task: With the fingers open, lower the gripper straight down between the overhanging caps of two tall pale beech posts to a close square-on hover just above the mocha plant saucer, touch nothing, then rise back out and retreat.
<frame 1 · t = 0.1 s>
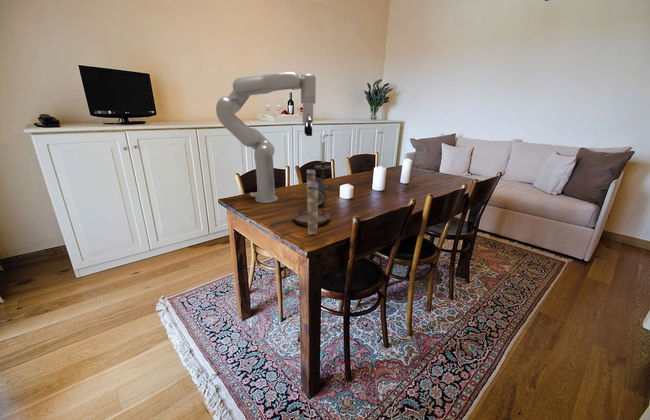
hand: (308, 134, 150), 37 cm above the table, tool pointing down, fingers open, 9 cm apart
plant saucer: (311, 221, 134), on the table
post back: (310, 209, 147), on the table
post front: (312, 232, 121), on the table
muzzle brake: (316, 200, 164), on the table
candlestick: (322, 188, 187), on the table
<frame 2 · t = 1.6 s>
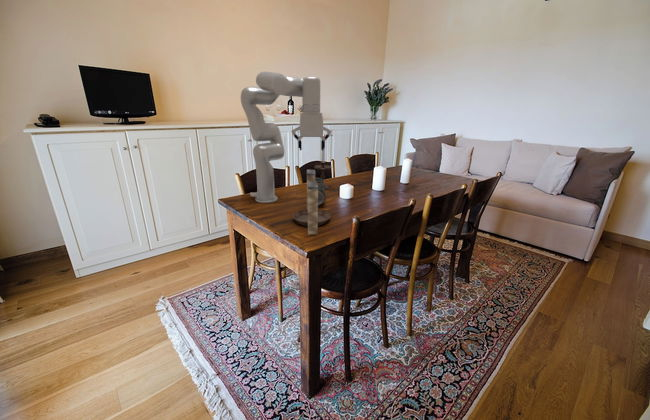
hand: (311, 150, 125), 33 cm above the table, tool pointing down, fingers open, 9 cm apart
nothing on the table moved.
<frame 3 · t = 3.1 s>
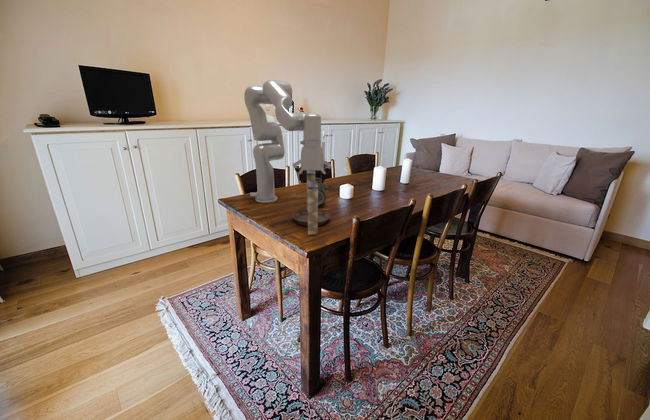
hand: (312, 182, 128), 19 cm above the table, tool pointing down, fingers open, 9 cm apart
nothing on the table moved.
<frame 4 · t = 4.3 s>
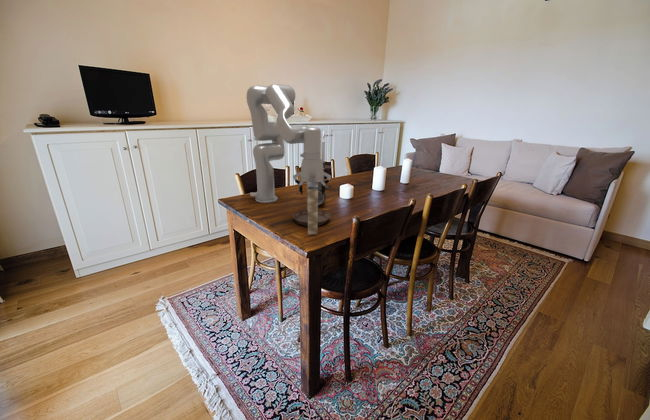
hand: (312, 193, 129), 13 cm above the table, tool pointing down, fingers open, 9 cm apart
nothing on the table moved.
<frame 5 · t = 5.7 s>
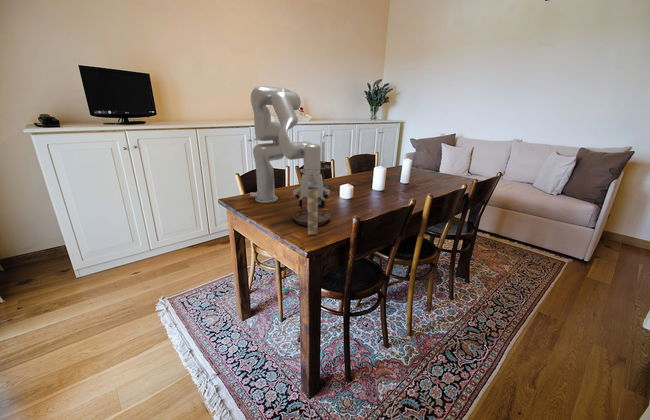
hand: (311, 207, 132), 6 cm above the table, tool pointing down, fingers open, 9 cm apart
nothing on the table moved.
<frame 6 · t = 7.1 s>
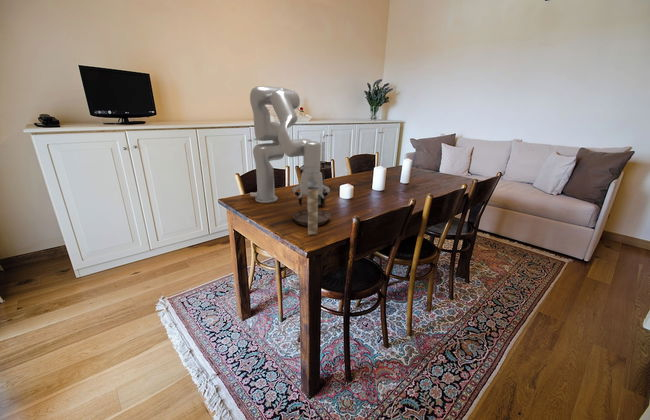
hand: (311, 205, 132), 7 cm above the table, tool pointing down, fingers open, 9 cm apart
nothing on the table moved.
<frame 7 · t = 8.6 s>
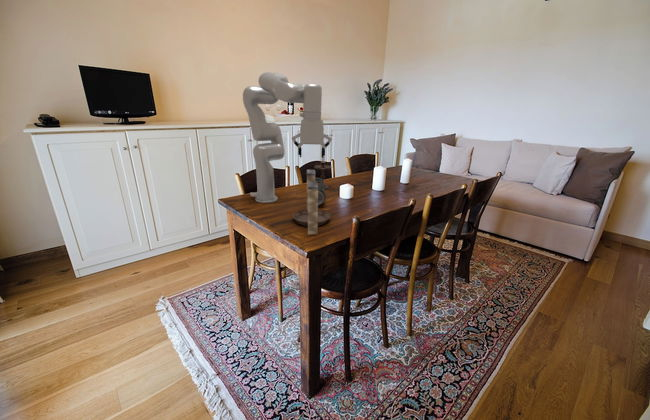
hand: (311, 157, 124), 30 cm above the table, tool pointing down, fingers open, 9 cm apart
nothing on the table moved.
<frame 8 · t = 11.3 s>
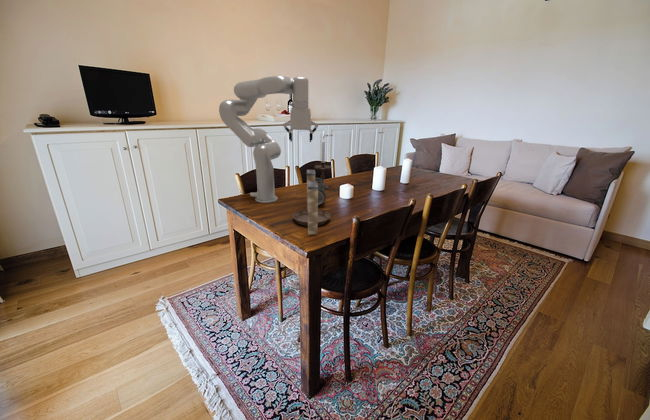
hand: (300, 141, 141), 34 cm above the table, tool pointing down, fingers open, 9 cm apart
nothing on the table moved.
at the end: plant saucer moved 0.5 cm from its start; post front tilted 0°; post back tilted 0° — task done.
